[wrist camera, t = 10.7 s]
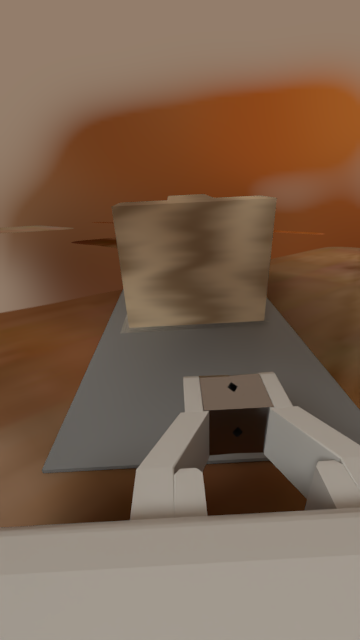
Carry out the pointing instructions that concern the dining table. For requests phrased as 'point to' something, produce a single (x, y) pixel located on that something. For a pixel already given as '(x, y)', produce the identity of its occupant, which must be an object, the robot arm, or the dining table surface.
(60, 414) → the dining table surface
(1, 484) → the dining table surface
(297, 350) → the t mat
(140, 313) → the t block
